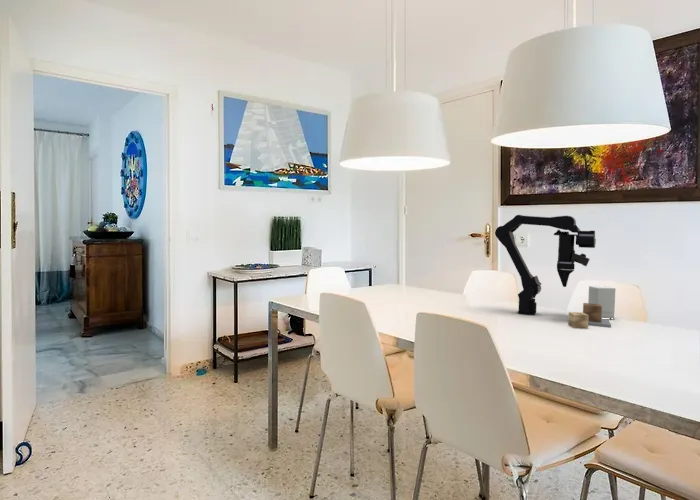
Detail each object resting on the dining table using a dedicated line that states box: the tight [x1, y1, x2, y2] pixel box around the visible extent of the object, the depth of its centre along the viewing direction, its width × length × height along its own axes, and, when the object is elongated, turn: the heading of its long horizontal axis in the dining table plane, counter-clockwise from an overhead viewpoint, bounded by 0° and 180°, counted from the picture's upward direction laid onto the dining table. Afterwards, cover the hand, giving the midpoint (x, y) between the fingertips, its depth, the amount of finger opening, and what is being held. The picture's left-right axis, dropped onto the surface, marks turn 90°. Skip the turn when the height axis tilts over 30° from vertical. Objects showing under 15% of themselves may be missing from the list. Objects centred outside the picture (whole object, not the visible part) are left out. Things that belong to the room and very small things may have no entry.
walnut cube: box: [582, 302, 602, 322], centre depth 179 cm, size 6×6×6 cm
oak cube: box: [567, 311, 589, 329], centre depth 171 cm, size 5×5×5 cm
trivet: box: [588, 318, 612, 328], centre depth 179 cm, size 12×12×1 cm
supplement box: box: [587, 285, 616, 320], centre depth 190 cm, size 7×7×13 cm
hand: (564, 285), depth 188 cm, fingers open, 9 cm apart
